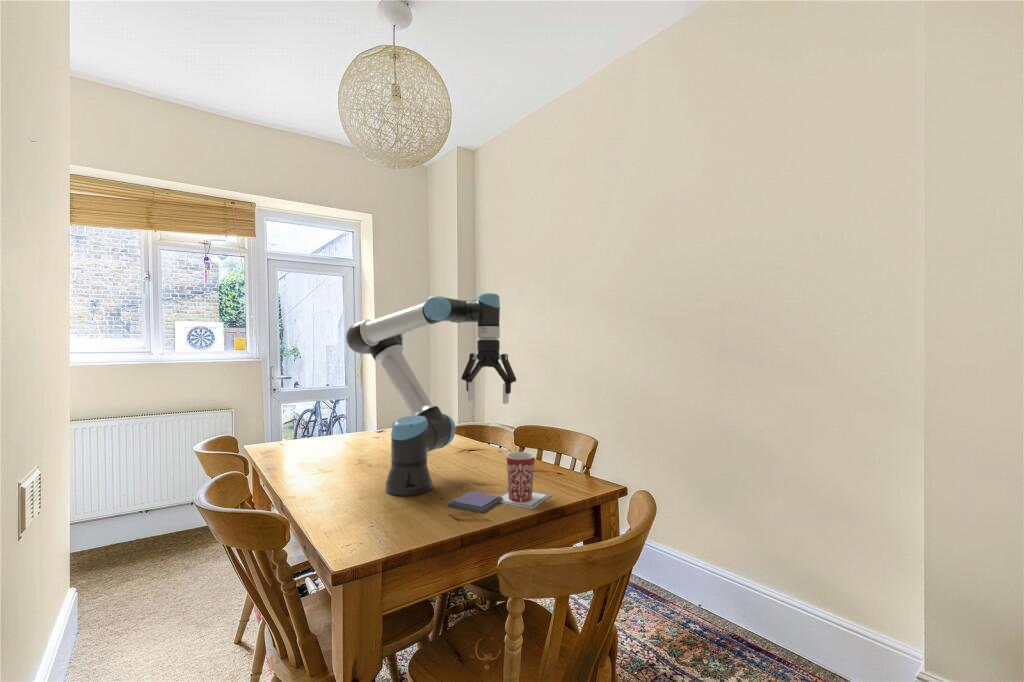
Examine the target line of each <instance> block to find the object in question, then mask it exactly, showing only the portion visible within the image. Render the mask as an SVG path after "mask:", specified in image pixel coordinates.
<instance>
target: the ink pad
mask: <svg viewBox="0 0 1024 682" xmlns="http://www.w3.org/2000/svg"><path fill="white" fill-rule="evenodd" d="M501 500H503V497H499V495H492V494H487V493H482V492H477V491H468V492H466V493H465V494H462V495H461V496H459V497H457V498H455V499H453V500H450V501H449V502H448V503H447V506H448V507H452V508H456V509H460V510H461V509H462V510H464V511H465V510H467V511H471V512H475V513H481V514H483V513H485V512H487V511H488V510H490V509H491V508H494V507H495V506H497V505H498V504H500V501H501Z"/></svg>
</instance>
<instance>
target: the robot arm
mask: <svg viewBox="0 0 1024 682" xmlns="http://www.w3.org/2000/svg"><path fill="white" fill-rule="evenodd" d="M500 305H501V301H500V296H499V294H497V293H490V292H486V293H485V292H483V293H479V294H477V299H474V300H461V299H457V298H449V297H445V296H439V295H437V296H433V295H432V296H430V297H428V298H427V299H426V301H424V302H423V303H420V304H417V305H414V306H411V307H408V308H405V309H402V310H401V311H396V312H394V313H391V314H388V315H385V316H382V317H379V318H377V319H373V320H372V319H367V318H366V319H364V320H361V321H358V322H355V323H354V324H352V325H351V326H350V327H349V328H348V330H347V332H346V336H345V337H346V338H345V339H346V343H347V345H348V346H349V349H351V350H352V351H353V352H355V353H357V354H363V355H367V354H368V355H371V356H372V359H373V360H374V361H375V363H376V364H380V365H381V366H382V367H383V370H384V371H385V373H386V375H387V376H388V378H389V379H390V382H391V383H392V385H393V387H394V389H395V391H396V392H397V394H398V396H399V397H400V399H401V401H402V403H403V405H404V407H405V408H406V410H407V412H408V414H409V416H403V417H400V418H398V419H396V420H394V421H393V423H392V425H391V431H390V439H391V453H390V454H391V457H390V458H391V460H390V463H391V464H390V466H391V467H390V469H389V473H388V475H387V480H386V482H385V492H386V493H388V494H390V495H394V496H400V497H401V496H403V497H405V496H407V497H409V496H416V495H422V494H425V493H428V492H429V491H431V490H432V489H433V478H431V474H430V473H431V472H430V470H429V467H428V453H429V452H432V451H435V450H438V449H442V448H444V447H445V446H449V444H451V442H453V440H454V437H455V434H456V424H455V421H454V420H453V418H452V417H451V416H450V415H449V414H446V413H443V412H442V411H441V409H440V408H439V406H438V405H435V404H432V402H431V401H430V399H429V397H428V396H427V393H426V392H425V390H424V389H423V387H422V385H421V384H420V381H419V380H418V378H417V377H416V374H415V373H414V371H413V370H412V367H411V366H410V364H409V363H408V361H407V359H406V357H405V356H404V354H403V351H404V346H403V344H404V342H403V340H404V337H403V334H405V333H409V332H412V331H415V330H419V329H422V328H424V327H428V326H431V325H435V324H438V323H441V322H450V323H455V324H456V323H457V324H460V323H477V342H476V343H477V348H476V349H477V353H473V352H471V353H469V356H468V361H467V363H466V366H465V369H464V370H463V373H462V374H461V375H462V376H461V380H462V381H465V385H466V388H465V389H466V392H467V394H468V395H467V401H468V402H473V401H475V381H474V380H475V377H476V376H477V375H478V374H479V372H480V371H481V370H482V369H483V368H494V369H495V371H496V372H497V374H498V375H499V377H500V378H501V379H502V381H503V382H504V383H502V404H503V405H506V404H509V401H510V400H509V398H510V396H509V395H510V394H511V392H512V383H515V382H517V377H516V375H515V373H514V371H513V368H512V366H511V363H510V361H509V354H507V353H502V354H500V348H501V347H500V343H501V342H500V340H499V339H500V337H501V336H500V335H501V334H500V333H501V332H500V331H501V329H500V316H501V315H500V314H501V313H500V312H501V311H500V310H501V306H500ZM477 360H478V361H477ZM476 361H477V362H476ZM499 361H501V363H502V364H501V363H500V362H499ZM502 366H503V367H502Z"/></svg>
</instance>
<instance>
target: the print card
mask: <svg viewBox="0 0 1024 682" xmlns="http://www.w3.org/2000/svg"><path fill="white" fill-rule="evenodd" d="M498 496H499V497H503V500H501V501H500V503H501V504H504V505H510V506H516V507H519V508H520V507H522V508H526V509H532V510H533V509H534V508H535V507H537V506H539V505H540V504H542V503H543V502H544V501H546V500H547V499H548V498H550V497H551V496H552V494H550V493H547V492H546V493H545V492H540V491H533V490H532V499H531V500H530V501H527V502H514V501H511V500H510V499H509V496H508V490H507V491H505V492H503V493H501V494H500V495H498ZM500 503H499V504H500Z"/></svg>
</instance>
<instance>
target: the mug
mask: <svg viewBox="0 0 1024 682" xmlns="http://www.w3.org/2000/svg"><path fill="white" fill-rule="evenodd" d="M505 457H506V466H507V468H506V469H507V489H508V490H507V491H508V496H509V499H510V500H511V501H514V502H527V501H530V500H531V499H532V491H533V486H534V485H533V483H534V473H535V472H534V470H535V458H536V455H535V454H533V453H531V452H525V451H516V452H509V453H507V454H506V456H505Z"/></svg>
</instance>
